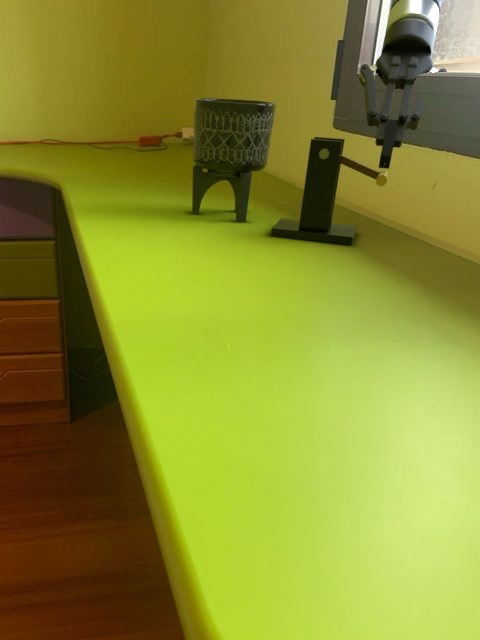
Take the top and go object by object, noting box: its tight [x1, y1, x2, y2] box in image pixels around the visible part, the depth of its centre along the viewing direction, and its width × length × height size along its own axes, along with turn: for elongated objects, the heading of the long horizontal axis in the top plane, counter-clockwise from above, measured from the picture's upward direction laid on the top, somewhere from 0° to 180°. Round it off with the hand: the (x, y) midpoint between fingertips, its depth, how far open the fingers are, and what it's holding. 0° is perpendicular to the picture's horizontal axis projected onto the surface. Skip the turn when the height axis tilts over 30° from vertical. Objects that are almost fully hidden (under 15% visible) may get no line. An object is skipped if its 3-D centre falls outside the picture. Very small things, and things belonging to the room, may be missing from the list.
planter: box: [191, 97, 277, 223], centre depth 114 cm, size 13×13×18 cm
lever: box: [339, 154, 389, 187], centre depth 101 cm, size 11×6×2 cm, turn 71°
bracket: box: [270, 136, 357, 246], centre depth 104 cm, size 12×9×14 cm
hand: (384, 162), depth 101 cm, fingers closed
